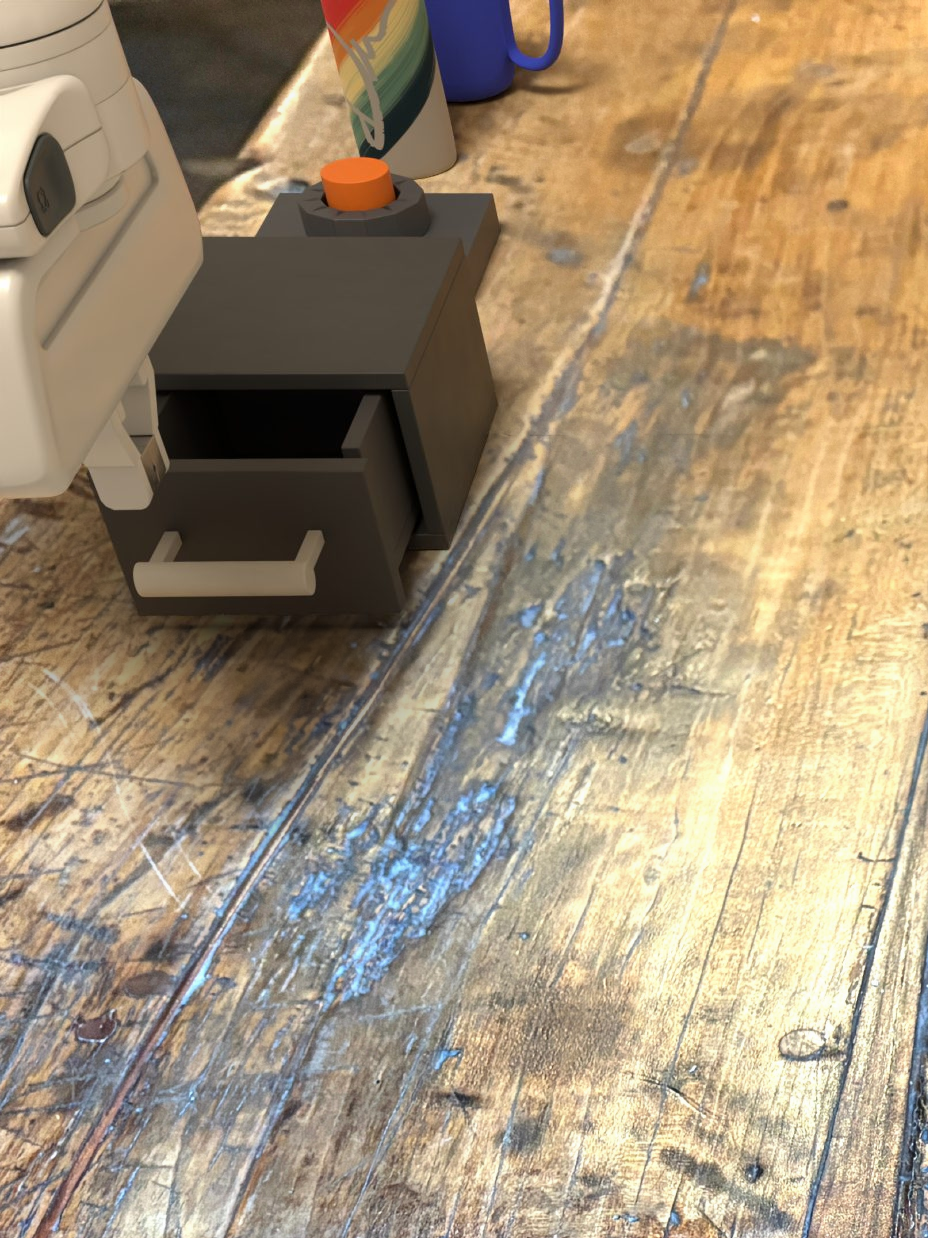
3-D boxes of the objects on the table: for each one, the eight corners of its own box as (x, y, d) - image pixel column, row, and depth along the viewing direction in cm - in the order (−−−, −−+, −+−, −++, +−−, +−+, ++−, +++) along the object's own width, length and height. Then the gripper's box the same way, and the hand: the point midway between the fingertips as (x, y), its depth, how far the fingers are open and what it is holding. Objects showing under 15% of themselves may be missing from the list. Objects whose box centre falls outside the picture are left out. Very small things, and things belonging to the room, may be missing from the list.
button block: (248, 306, 122) (226, 232, 119) (290, 231, 128) (270, 159, 126) (472, 306, 122) (455, 232, 119) (501, 231, 129) (486, 160, 126)
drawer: (383, 666, 96) (342, 520, 91) (111, 669, 95) (55, 523, 90) (454, 467, 108) (421, 329, 103) (214, 468, 107) (169, 330, 102)
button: (322, 215, 121) (313, 182, 120) (336, 189, 124) (327, 156, 123) (389, 215, 122) (381, 182, 120) (401, 189, 124) (394, 157, 123)
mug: (556, 123, 141) (524, -52, 133) (377, 105, 142) (335, -69, 135) (605, 77, 146) (577, -93, 139) (431, 60, 147) (395, -110, 140)
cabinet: (448, 549, 104) (404, 372, 98) (173, 552, 104) (111, 373, 97) (498, 405, 114) (461, 236, 108) (248, 406, 114) (196, 236, 107)
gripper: (-3, -1, 81) (129, 368, 91) (-218, 230, 67) (-33, 636, 77) (174, -3, 81) (286, 365, 91) (-3, 226, 67) (153, 631, 77)
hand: (139, 491), depth 84 cm, fingers closed
